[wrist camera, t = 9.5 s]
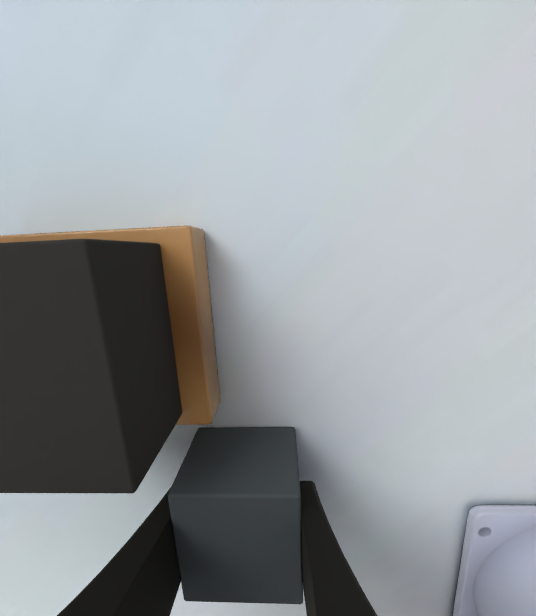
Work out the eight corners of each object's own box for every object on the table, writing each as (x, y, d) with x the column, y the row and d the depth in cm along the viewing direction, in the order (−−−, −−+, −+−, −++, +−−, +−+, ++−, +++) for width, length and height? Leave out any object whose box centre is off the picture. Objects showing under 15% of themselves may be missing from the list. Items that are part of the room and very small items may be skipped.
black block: (183, 413, 9) (135, 495, 6) (52, 415, 10) (-58, 494, 6) (161, 243, 8) (85, 237, 5) (9, 250, 8) (-153, 250, 5)
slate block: (297, 513, 12) (303, 605, 9) (208, 512, 12) (183, 602, 9) (294, 426, 11) (300, 496, 8) (197, 427, 11) (166, 495, 8)
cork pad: (221, 401, 11) (211, 425, 9) (62, 404, 11) (29, 427, 10) (204, 229, 9) (190, 225, 8) (22, 238, 10) (-24, 236, 8)
